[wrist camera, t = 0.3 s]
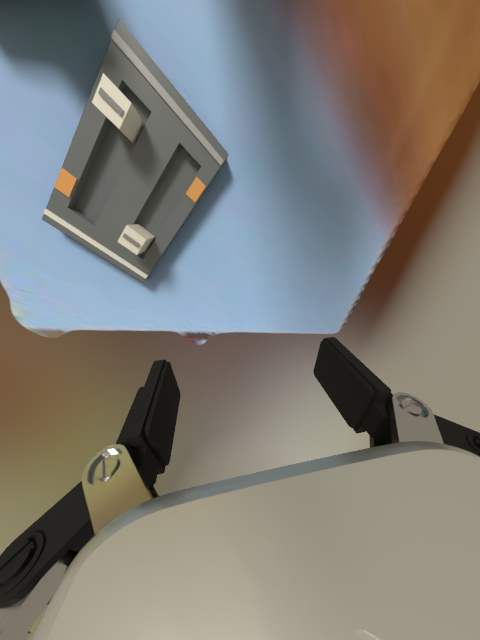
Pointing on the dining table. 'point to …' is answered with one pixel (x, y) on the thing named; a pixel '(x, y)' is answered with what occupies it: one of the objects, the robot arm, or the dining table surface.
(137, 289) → the dining table surface
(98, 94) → the tab
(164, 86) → the switch board
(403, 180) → the dining table surface
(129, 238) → the tab
